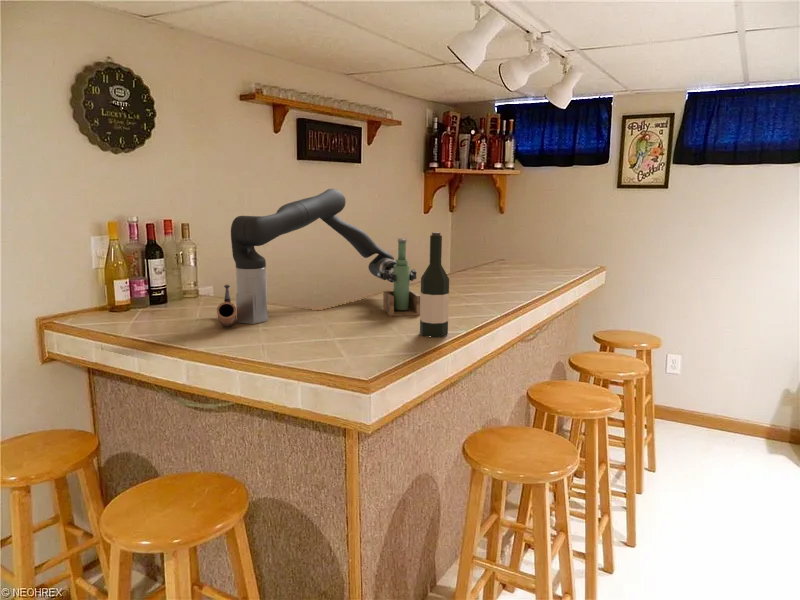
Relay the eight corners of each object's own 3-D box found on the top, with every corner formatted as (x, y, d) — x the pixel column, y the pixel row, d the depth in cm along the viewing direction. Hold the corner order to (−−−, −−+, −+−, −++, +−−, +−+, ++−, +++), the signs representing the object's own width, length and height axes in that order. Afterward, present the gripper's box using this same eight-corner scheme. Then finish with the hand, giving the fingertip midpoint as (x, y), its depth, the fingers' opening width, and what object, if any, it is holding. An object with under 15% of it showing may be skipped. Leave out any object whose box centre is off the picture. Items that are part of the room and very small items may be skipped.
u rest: (420, 314, 201) (420, 295, 200) (390, 316, 199) (390, 296, 197) (411, 308, 211) (412, 290, 210) (383, 309, 209) (383, 291, 207)
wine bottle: (445, 338, 171) (448, 234, 165) (417, 336, 173) (419, 233, 167) (449, 331, 179) (452, 231, 173) (422, 329, 181) (424, 231, 175)
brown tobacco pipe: (217, 334, 172) (216, 300, 170) (219, 313, 200) (218, 284, 198) (237, 333, 174) (235, 300, 172) (236, 312, 202) (235, 283, 200)
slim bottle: (406, 310, 201) (408, 240, 197) (391, 309, 203) (392, 239, 198) (410, 307, 207) (412, 238, 202) (395, 306, 208) (396, 237, 203)
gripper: (372, 260, 214) (383, 267, 198) (410, 259, 217) (424, 266, 201) (372, 281, 215) (382, 289, 199) (410, 280, 219) (423, 288, 203)
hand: (403, 278), depth 200 cm, fingers closed on slim bottle, 5 cm apart
